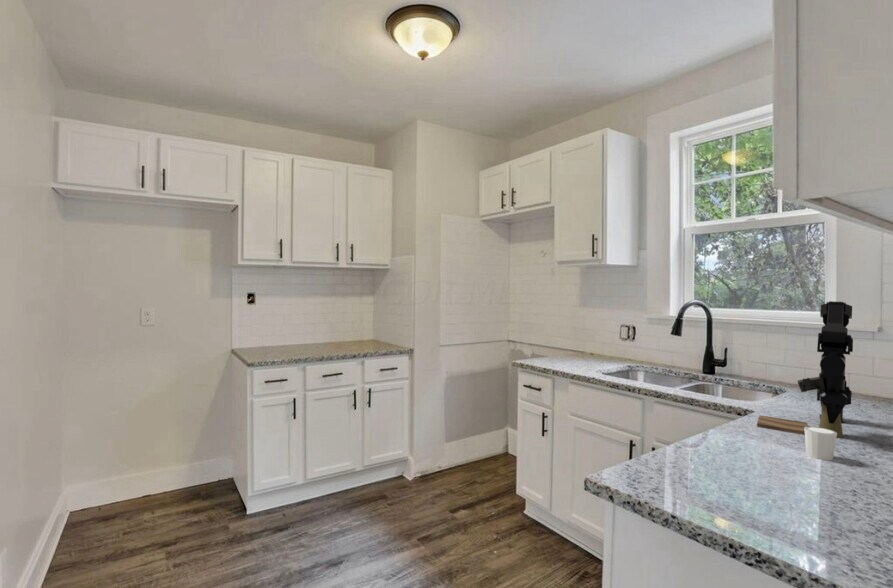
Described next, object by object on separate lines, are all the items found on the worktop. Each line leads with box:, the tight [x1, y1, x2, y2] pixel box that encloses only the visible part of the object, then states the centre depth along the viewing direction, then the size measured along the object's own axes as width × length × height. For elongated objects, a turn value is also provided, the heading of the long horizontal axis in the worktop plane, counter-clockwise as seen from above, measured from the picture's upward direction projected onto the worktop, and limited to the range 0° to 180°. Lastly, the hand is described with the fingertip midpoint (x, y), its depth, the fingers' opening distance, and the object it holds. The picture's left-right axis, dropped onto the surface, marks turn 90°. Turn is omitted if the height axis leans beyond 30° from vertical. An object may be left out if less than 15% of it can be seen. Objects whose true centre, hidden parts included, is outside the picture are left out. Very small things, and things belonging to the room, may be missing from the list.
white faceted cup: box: [804, 426, 837, 461], centre depth 124 cm, size 7×7×7 cm
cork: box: [818, 402, 844, 439], centre depth 144 cm, size 6×6×11 cm
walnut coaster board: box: [756, 415, 809, 436], centre depth 152 cm, size 13×13×1 cm
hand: (830, 421), depth 144 cm, fingers closed on cork, 4 cm apart
